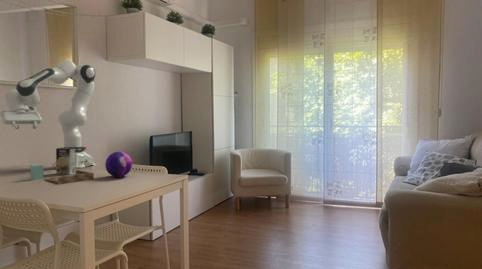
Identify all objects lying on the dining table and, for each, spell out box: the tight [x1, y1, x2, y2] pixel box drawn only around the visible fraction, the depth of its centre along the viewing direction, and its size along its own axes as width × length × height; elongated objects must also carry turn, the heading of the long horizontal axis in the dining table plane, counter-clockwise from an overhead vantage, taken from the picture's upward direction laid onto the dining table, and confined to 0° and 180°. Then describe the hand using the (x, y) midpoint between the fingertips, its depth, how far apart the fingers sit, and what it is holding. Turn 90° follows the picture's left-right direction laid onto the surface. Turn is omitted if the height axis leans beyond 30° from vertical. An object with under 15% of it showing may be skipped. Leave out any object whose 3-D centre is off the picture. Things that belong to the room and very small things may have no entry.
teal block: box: [29, 164, 44, 181], centre depth 206 cm, size 5×4×8 cm
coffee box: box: [55, 147, 76, 176], centre depth 224 cm, size 9×6×16 cm
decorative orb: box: [104, 151, 133, 178], centre depth 215 cm, size 15×15×15 cm
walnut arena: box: [43, 169, 95, 185], centre depth 205 cm, size 20×18×4 cm
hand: (26, 128), depth 212 cm, fingers open, 8 cm apart
